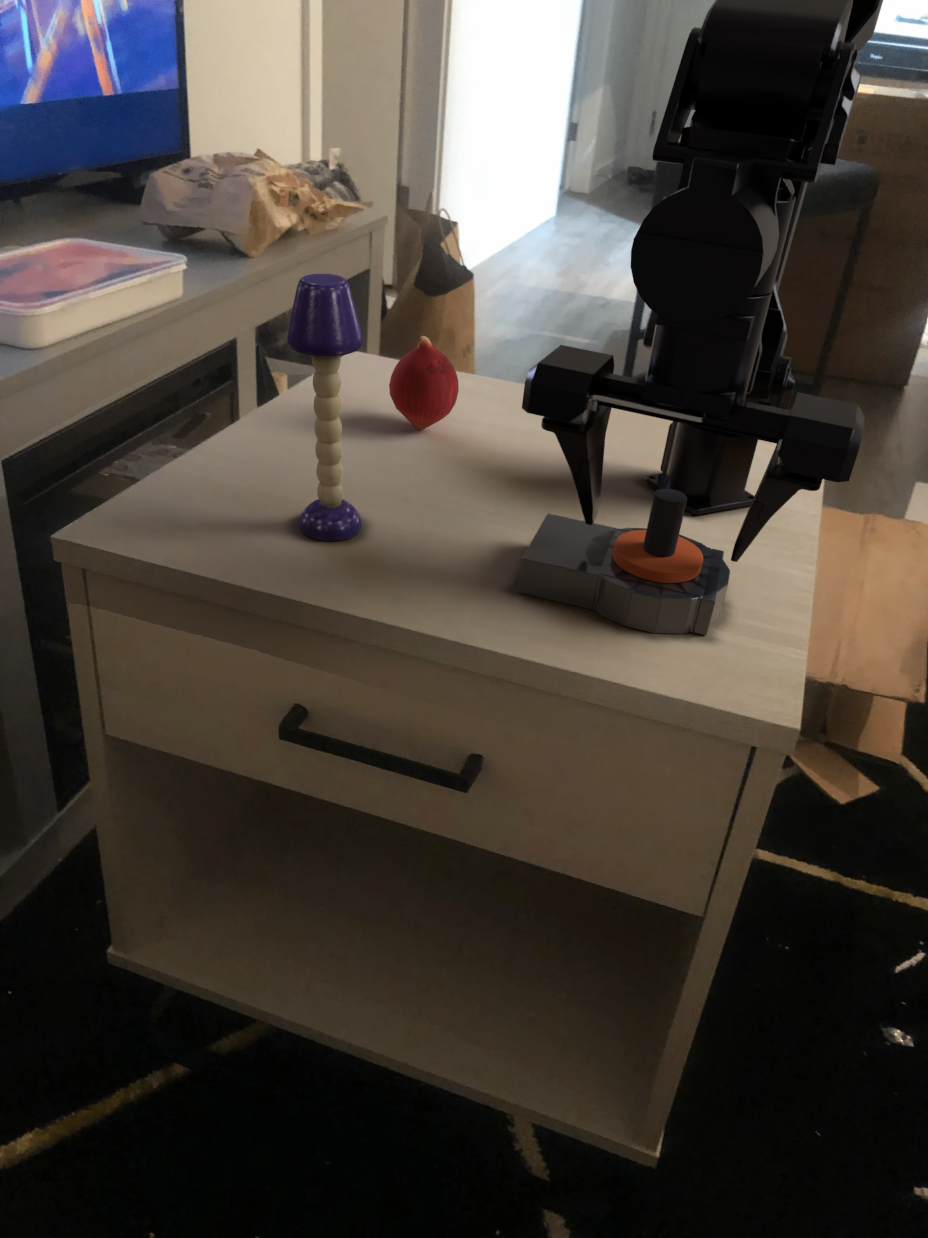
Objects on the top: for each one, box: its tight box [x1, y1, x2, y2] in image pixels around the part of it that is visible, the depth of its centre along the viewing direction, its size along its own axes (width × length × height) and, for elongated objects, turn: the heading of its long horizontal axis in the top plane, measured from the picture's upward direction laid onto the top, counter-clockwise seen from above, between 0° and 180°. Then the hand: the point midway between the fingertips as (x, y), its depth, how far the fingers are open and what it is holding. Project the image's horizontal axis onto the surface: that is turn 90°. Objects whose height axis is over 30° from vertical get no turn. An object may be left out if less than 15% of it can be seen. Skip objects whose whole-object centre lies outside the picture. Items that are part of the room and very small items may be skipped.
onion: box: [388, 335, 460, 431], centre depth 80 cm, size 6×6×8 cm
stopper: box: [613, 489, 703, 583], centre depth 59 cm, size 6×6×7 cm
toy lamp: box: [286, 273, 364, 542], centre depth 61 cm, size 5×5×17 cm
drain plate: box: [517, 513, 731, 636], centre depth 61 cm, size 13×9×2 cm
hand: (661, 540), depth 59 cm, fingers open, 9 cm apart
